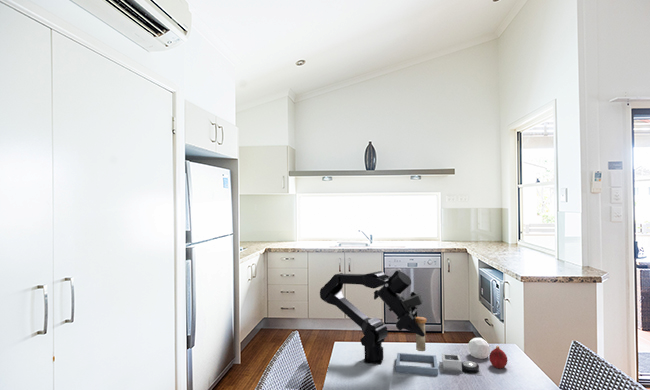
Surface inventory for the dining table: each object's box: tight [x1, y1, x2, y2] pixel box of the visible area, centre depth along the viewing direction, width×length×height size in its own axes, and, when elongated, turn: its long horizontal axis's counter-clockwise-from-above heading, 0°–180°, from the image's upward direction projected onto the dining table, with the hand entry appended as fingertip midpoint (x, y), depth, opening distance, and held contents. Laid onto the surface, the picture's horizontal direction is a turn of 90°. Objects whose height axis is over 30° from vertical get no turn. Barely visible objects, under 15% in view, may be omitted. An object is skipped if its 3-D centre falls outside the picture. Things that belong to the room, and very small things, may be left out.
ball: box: [467, 337, 491, 360], centre depth 139 cm, size 8×8×8 cm
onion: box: [488, 345, 508, 369], centre depth 129 cm, size 6×6×8 cm
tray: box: [395, 352, 439, 376], centre depth 130 cm, size 14×12×3 cm
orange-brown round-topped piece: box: [415, 316, 427, 352], centre depth 131 cm, size 4×4×11 cm
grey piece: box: [438, 353, 482, 376], centre depth 128 cm, size 13×9×4 cm
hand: (424, 334), depth 131 cm, fingers closed on orange-brown round-topped piece, 3 cm apart
